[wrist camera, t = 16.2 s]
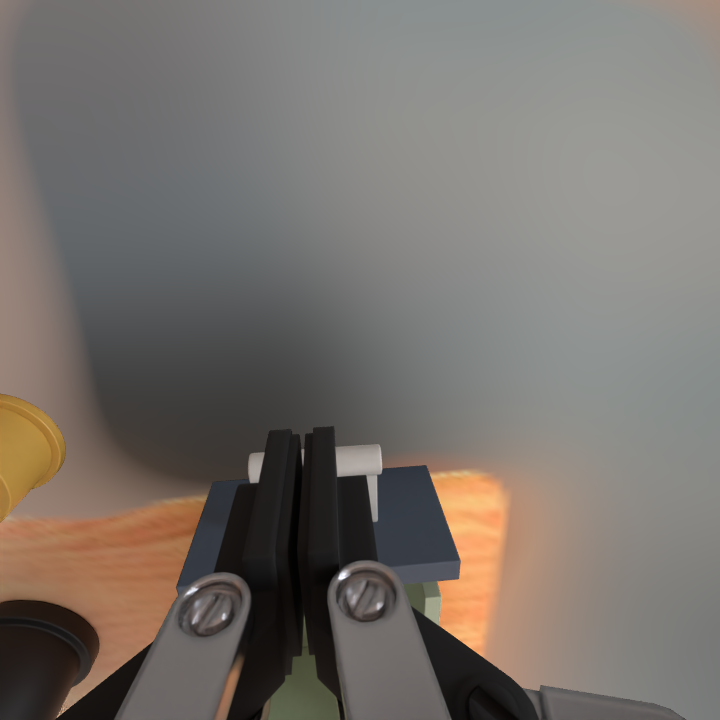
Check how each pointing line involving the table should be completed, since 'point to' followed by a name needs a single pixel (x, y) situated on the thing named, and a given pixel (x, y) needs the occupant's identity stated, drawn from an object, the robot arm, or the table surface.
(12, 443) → the bell
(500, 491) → the table surface
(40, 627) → the light fixture
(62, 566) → the table surface
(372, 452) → the drawer
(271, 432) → the robot arm
